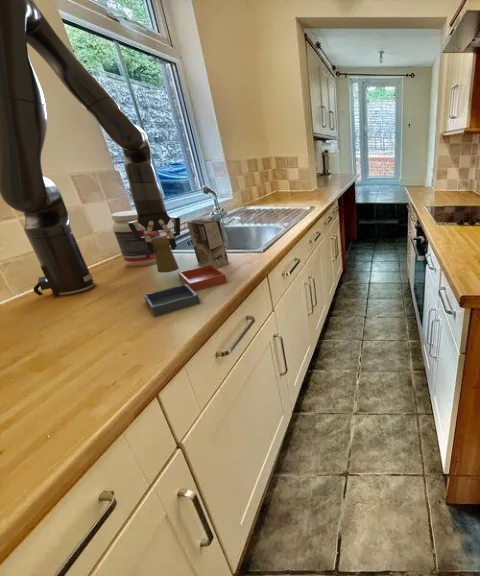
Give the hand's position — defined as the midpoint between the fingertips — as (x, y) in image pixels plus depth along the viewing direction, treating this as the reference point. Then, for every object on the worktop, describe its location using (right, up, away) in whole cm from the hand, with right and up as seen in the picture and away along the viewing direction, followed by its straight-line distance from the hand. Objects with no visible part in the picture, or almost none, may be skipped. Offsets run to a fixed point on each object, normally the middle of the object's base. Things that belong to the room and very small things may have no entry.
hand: (163, 250), depth 103 cm
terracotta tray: (+13, -10, 0) cm, 16 cm away
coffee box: (+9, -4, +14) cm, 17 cm away
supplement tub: (-18, -2, +17) cm, 25 cm away
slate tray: (+13, -16, -15) cm, 26 cm away
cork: (0, -6, +3) cm, 7 cm away
